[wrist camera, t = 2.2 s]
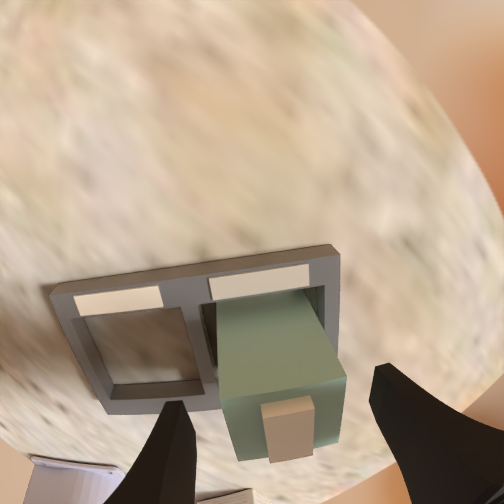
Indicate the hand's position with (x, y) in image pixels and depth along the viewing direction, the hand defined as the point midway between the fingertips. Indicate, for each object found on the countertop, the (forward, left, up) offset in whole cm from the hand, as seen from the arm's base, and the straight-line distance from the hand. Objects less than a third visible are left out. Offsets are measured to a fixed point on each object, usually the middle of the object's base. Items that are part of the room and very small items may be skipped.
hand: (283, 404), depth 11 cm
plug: (0, 0, -5) cm, 5 cm away
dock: (-3, 0, -5) cm, 6 cm away
